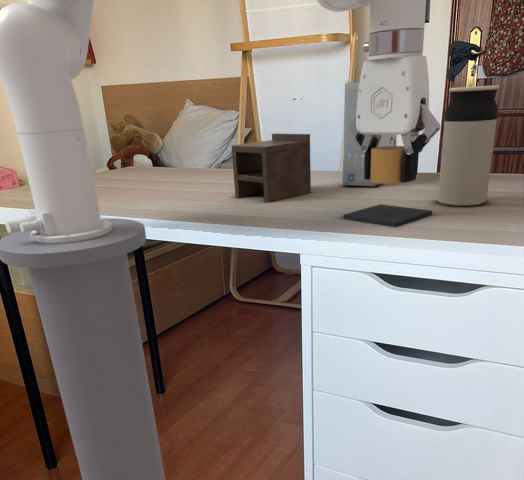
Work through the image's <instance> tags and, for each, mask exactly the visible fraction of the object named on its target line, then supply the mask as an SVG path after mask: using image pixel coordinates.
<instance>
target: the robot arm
mask: <svg viewBox="0 0 524 480" xmlns="http://www.w3.org/2000/svg"><path fill="white" fill-rule="evenodd" d="M316 1H317V3H318V4H319V5H320V6H321V7H323V8H324V9H325V10H327V11H330V12H334V13H335V12H345V11H351V10H354V9H360V8H363V7H369V18H368V19H369V20H368V22H369V23H368V41H365V42H364V43H363V51H364V53H368V57H367V58H368V60H364V61H363V63H362V68H361V71H360V77H359V81H358V82H359V89H358V98H357V111H356V118H355V119H354V120H353V122H352V123H351V125H350V126H349V129H350V131H351V132H352V134H353V135H354V137H356V140H357V142H358V143H359V145H360V146H361V151H362V152H363V153H365V157H364V172H365V173H364V178H365V179H367V180H369V179H370V174H371V149H372V148H376V147H378V146H379V143H380V140H381V137H382V135H397V136H398V135H399V136H401V140H402V144H403V146H404V148H405V151H406V154H403V155H402V160H401V179H400V180H401V182H403V183H402V184H404V183H410V182H414V181H416V179H417V175H418V170H419V156H420V153H422V152H423V150H424V148H425V147H426V145H427V144H428V143H429V142H430V141H431V139H432V138H434V137H435V135H436V134H437V133H438V132H439V131H440V130H441V124H440V122H439V121H438V120H437V118H436V117H435V116H434V114H433V113H432V111H431V110H430V109H429V108H430V81H429V80H430V78H429V67H428V59H427V56H426V55H424V43H425V41H424V39H425V27H426V26H425V25H426V13H427V12H426V9H427V0H316ZM93 10H94V0H27V2H15V3H14V2H13V3H10V4H7V5H5V6H3V7H2V8H1V9H0V80H1V83H2V86H3V89H4V91H5V94H6V98H7V100H8V105H9V108H10V112H11V116H12V120H13V123H14V128H15V132H16V134H17V138H18V143H19V146H20V151H21V155H22V160H23V163H24V167H25V172H26V176H27V180H28V183H29V188H30V193H31V196H32V197H31V198H32V202H33V205H34V208H30V209H28V211H29V214H25V216H24V217H23V218H13V219H8V220H5V222H4V224H5V225H4V226H5V228H6V231H7V233H8V234H13V233H15V232H19V231H22V232H27V231H31V233H30V234H31V238H32V240H33V241H35V242H38V243H45V244H60V243H72V242H79V241H85V240H90V239H94V238H98V237H101V236H104V235H106V234H108V233H110V232H111V231H112V223H111V222H109V221H107V220H101V218H102V217H101V212H100V207H99V201H98V196H97V191H96V186H95V185H96V184H95V181H94V174H93V169H92V163H91V158H90V154H89V147H88V141H87V138H86V133H85V132H86V131H85V128H84V122H83V117H82V112H81V108H80V103H79V101H78V96H77V93H76V90H75V87H74V83H73V80H75V79H76V78H77V77H78V76H79V75H80V74H81V72H82V71H83V69H84V67H85V64H86V61H87V57H88V51H89V44H90V36H91V35H90V34H91V26H92V19H93ZM420 132H421V134H420Z"/></svg>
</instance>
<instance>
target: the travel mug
mask: <svg viewBox="0 0 524 480" xmlns="http://www.w3.org/2000/svg"><path fill="white" fill-rule="evenodd" d="M499 89H500V85H498V84H497V85H478V86H462V87H449V89H448V91H449V93H450V102H449V104H448V106H447V108H446V109H445V113H444V123H443V136H442V146H441V157H440V171H439V181H438V191H437V202H439V203H440V204H442V205H445V206H451V207H473V206H479V205H482V204H484V203H486V202H487V199H488V193H489V183H490V176H491V170H492V169H491V168H492V162H493V161H492V160H493V153H494V145H495V138H496V130H497V122H498V115H499V114H498V113H499V107H498V104H497V101H496V95H497V92H498V90H499Z"/></svg>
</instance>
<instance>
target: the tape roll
mask: <svg viewBox="0 0 524 480" xmlns="http://www.w3.org/2000/svg"><path fill="white" fill-rule="evenodd" d="M403 154H406V151H405V148H404V145H396V146H385V147H376V148H372V149H371V174H370V181H371V182H372V183H378V185H394V184H395V185H396V184H404V183H403V182H401V180H400V179H401V160H402V155H403Z"/></svg>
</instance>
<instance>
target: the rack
mask: <svg viewBox="0 0 524 480" xmlns="http://www.w3.org/2000/svg"><path fill="white" fill-rule="evenodd" d="M231 158H232V169H233V170H232V171H233V172H232V173H233V185H234V197H235V198H238V199H240V198H244V197H249V196H254V195H259V194H263V202H265V203H271V202H274V201H280V200H283V199H289V198H294V197H297V196H301V195H306V194H310V193H311V192H312V185H311V183H312V181H311V177H312V175H311V133H280V132H279V133H278V132H277V133H276V132H275V133H271V139H269V140H262V141H255V142H246V143H240V144H232V145H231Z"/></svg>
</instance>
